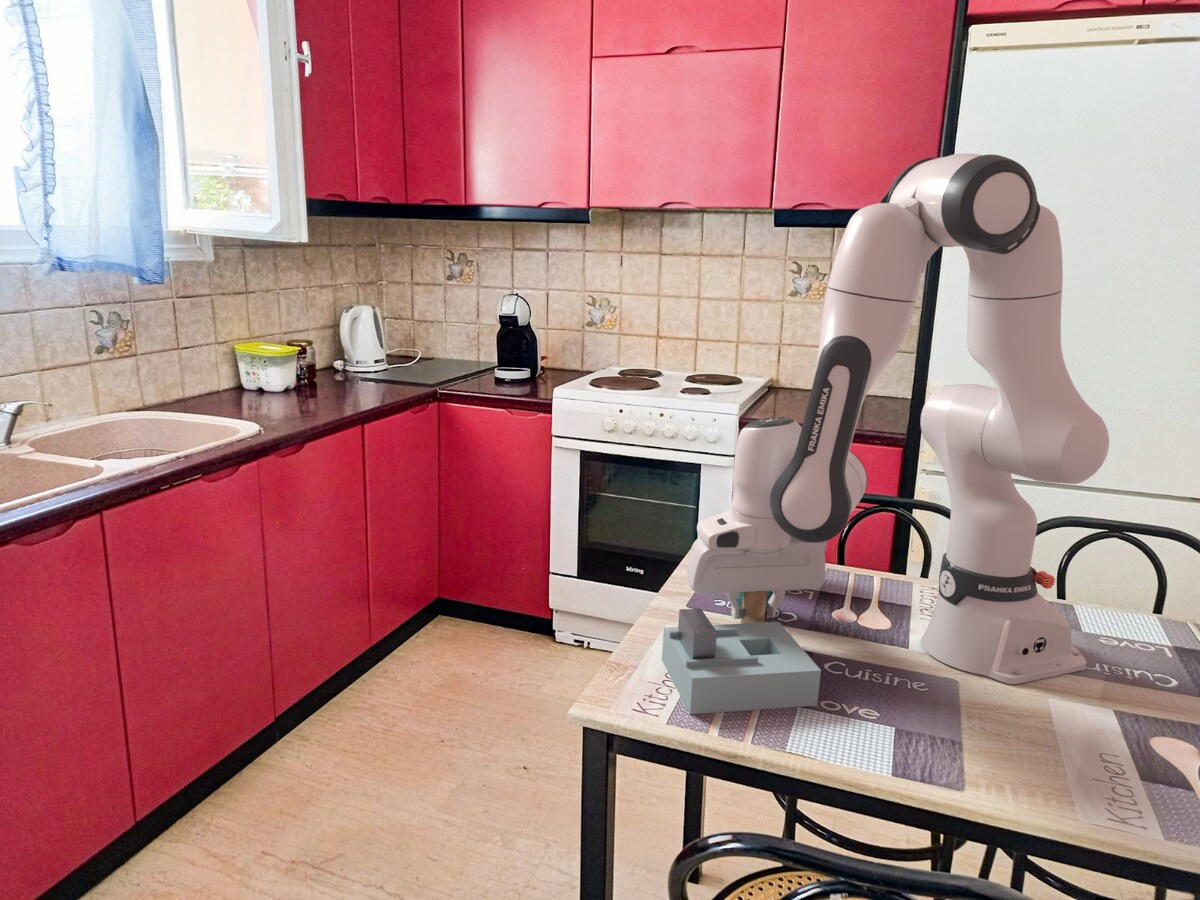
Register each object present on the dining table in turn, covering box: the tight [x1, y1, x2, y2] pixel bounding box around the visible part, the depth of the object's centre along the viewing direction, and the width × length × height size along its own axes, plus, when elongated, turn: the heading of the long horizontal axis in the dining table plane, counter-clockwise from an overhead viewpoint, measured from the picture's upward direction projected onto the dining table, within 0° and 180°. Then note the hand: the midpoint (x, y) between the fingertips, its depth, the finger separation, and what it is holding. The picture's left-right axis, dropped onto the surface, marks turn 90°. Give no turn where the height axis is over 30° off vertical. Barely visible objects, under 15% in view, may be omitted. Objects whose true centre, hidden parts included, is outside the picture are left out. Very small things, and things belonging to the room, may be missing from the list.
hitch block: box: [661, 621, 822, 715], centre depth 113 cm, size 17×14×6 cm
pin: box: [740, 591, 767, 624], centre depth 125 cm, size 3×3×10 cm
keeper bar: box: [677, 608, 717, 660], centre depth 111 cm, size 3×7×4 cm, turn 10°
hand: (753, 616), depth 125 cm, fingers closed on pin, 3 cm apart
